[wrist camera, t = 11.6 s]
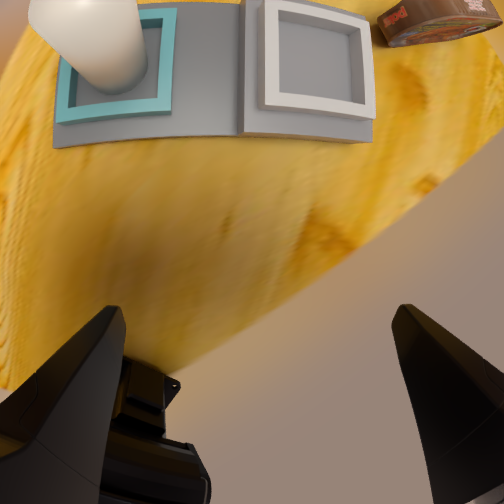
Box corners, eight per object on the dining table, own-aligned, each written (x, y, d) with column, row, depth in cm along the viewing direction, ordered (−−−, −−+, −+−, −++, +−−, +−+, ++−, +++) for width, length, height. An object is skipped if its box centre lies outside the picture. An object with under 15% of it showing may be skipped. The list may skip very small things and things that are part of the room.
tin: (370, 52, 20) (441, 24, 12) (354, 20, 19) (419, -17, 11) (460, 40, 21) (516, 28, 13) (449, 16, 20) (503, 0, 12)
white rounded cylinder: (144, 94, 16) (119, 29, 7) (85, 97, 15) (16, 46, 6) (154, 28, 15) (147, -65, 6) (96, 31, 14) (52, -50, 5)
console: (58, 148, 17) (30, 146, 12) (71, 21, 14) (52, -6, 10) (349, 143, 21) (385, 141, 17) (345, 29, 19) (376, 9, 15)
